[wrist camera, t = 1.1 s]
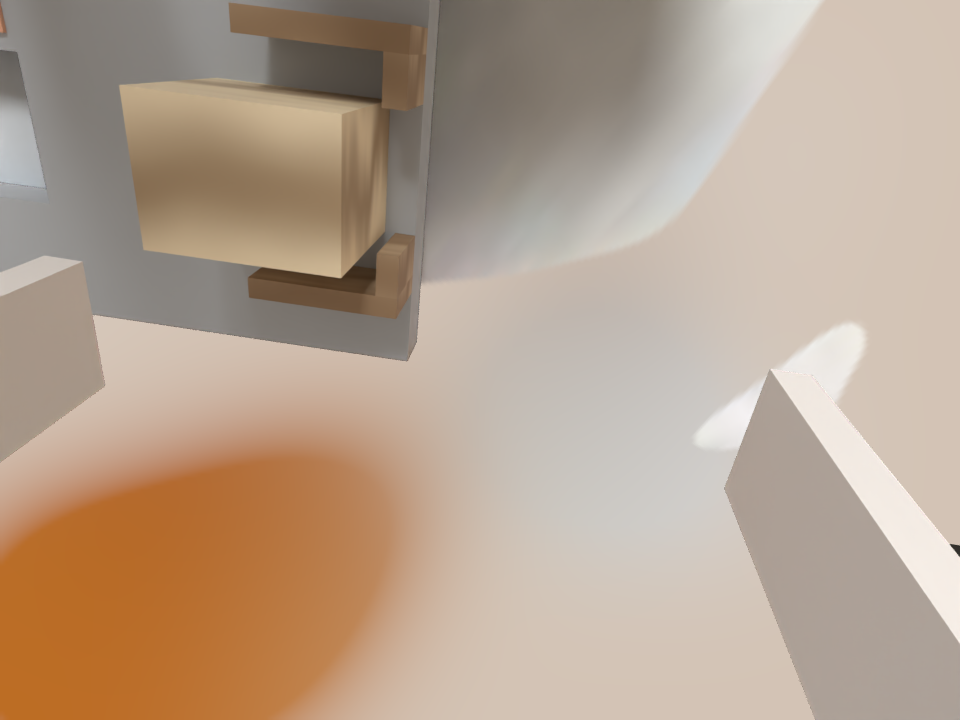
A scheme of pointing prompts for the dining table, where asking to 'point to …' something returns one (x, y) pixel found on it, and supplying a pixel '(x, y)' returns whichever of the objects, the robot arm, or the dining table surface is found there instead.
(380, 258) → the walls
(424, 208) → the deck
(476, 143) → the dining table surface
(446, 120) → the dining table surface
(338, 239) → the block
